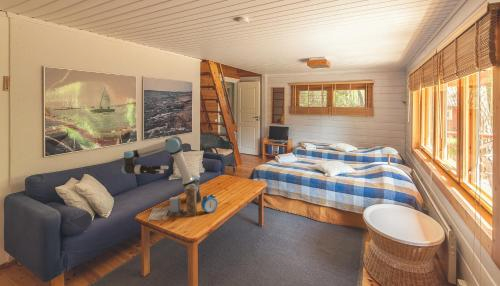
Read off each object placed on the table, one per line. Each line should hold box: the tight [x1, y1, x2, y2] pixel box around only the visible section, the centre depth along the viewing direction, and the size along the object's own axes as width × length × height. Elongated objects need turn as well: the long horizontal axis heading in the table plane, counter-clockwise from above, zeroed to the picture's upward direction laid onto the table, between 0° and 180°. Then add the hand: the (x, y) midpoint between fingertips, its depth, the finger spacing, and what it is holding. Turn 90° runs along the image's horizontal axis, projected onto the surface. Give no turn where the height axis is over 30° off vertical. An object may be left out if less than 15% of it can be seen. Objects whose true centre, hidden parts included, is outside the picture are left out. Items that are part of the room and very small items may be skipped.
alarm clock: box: [200, 193, 219, 214], centre depth 223 cm, size 13×6×15 cm, turn 124°
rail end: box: [169, 196, 182, 212], centre depth 217 cm, size 8×5×14 cm, turn 91°
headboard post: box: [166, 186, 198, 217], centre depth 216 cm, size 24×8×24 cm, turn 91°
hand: (165, 169), depth 225 cm, fingers open, 13 cm apart
